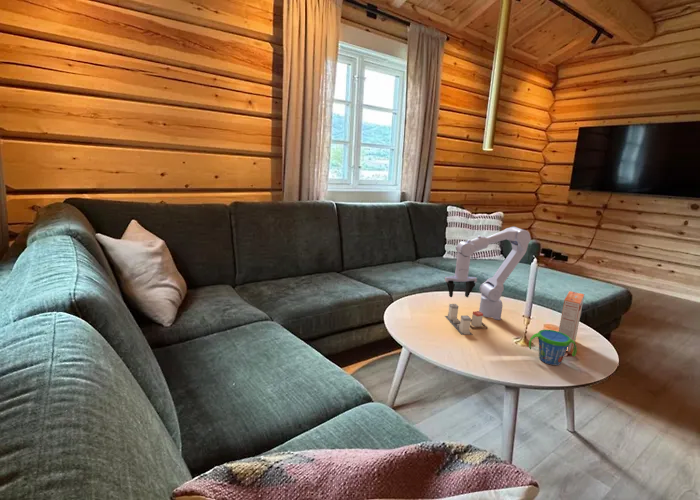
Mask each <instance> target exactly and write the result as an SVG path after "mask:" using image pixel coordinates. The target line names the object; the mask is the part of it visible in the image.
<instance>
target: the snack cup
mask: <svg viewBox="0 0 700 500" xmlns="http://www.w3.org/2000/svg"><path fill="white" fill-rule="evenodd" d="M535 338H537V339H538V358H539V359H540V361H542V362H543V363H545V364H548V365H554V366H559V365H560V364H562V362H563V361H564V357H565V355H566V350H567V347H568V346H569V344H570V343H571V342H572V343H573V344H574V346H573V349H572V352H571V355H572V357H576V355H577V349H578V348H577V344H576V341H575V342H574V341H573V340H572V339H570V337H569V336H567V335H566V334H564V333H561V332H559V330H554V329H540V330H539V331H538V332H537V333H534V334H533V335H532V336H531V337H530V338H529V341H528V347H529V350H532V341H533V340H534V339H535Z"/></svg>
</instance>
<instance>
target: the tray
mask: <svg viewBox="0 0 700 500" xmlns="http://www.w3.org/2000/svg"><path fill="white" fill-rule="evenodd" d="M471 322H472V318H471ZM471 322H470V323H471ZM470 329H471V330H488V326H487V325H486V324H485V323H483V321H482V325H481V327H475V326H473V325H471V324H470Z"/></svg>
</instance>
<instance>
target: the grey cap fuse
mask: <svg viewBox="0 0 700 500" xmlns="http://www.w3.org/2000/svg"><path fill="white" fill-rule="evenodd" d="M458 314H459V305H458V304H457V303H449V304H448V312H447V316H448V318H449V319H450V320H451V318H457V319H458Z"/></svg>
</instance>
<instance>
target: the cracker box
mask: <svg viewBox="0 0 700 500" xmlns="http://www.w3.org/2000/svg"><path fill="white" fill-rule="evenodd" d="M584 299H585V294H584V293H579V292H576V291H572V290H571V291H570V290H569V291H568V293H567V294H566V296H565V298H564V300H563V305H562V310H561V316H560V323H559V327H558V328H559V329H558V332H561V333H564V334H566V335H567V336H569V337H570V339H572V340H573V341H574V342H575V343H576V339H577V334H578V329H579V324H580V320H581V319H580V318H581V315H582V309H583V303H584ZM573 349H574V344H573V343H572V342H571V343H570V344H569V346H568V352H567V353H569V354H572V353H573Z"/></svg>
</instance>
